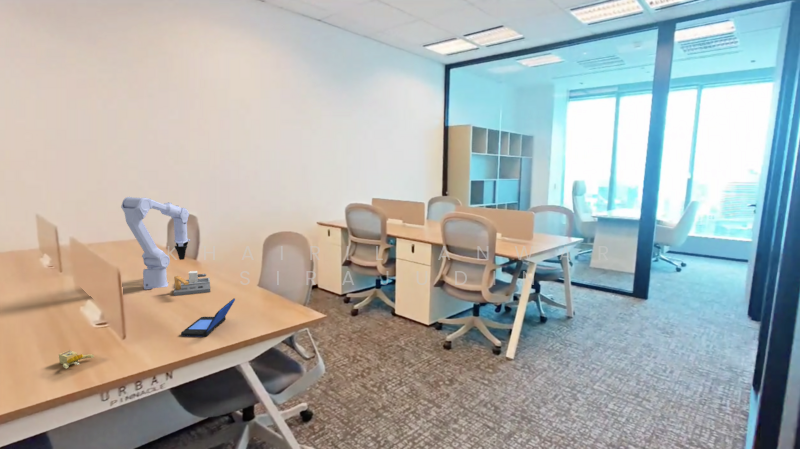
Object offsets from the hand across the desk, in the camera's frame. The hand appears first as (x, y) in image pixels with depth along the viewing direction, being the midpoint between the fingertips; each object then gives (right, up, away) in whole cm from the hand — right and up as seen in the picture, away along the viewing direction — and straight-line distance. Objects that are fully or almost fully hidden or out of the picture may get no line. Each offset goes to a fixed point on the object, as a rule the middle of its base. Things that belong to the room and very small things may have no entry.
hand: (182, 257), depth 207 cm
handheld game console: (+42, -21, -61) cm, 77 cm away
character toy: (+16, -25, -90) cm, 94 cm away
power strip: (+16, -14, -21) cm, 30 cm away
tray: (+11, -12, -11) cm, 20 cm away
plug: (+13, -12, -10) cm, 20 cm away
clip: (+15, -13, -27) cm, 34 cm away
